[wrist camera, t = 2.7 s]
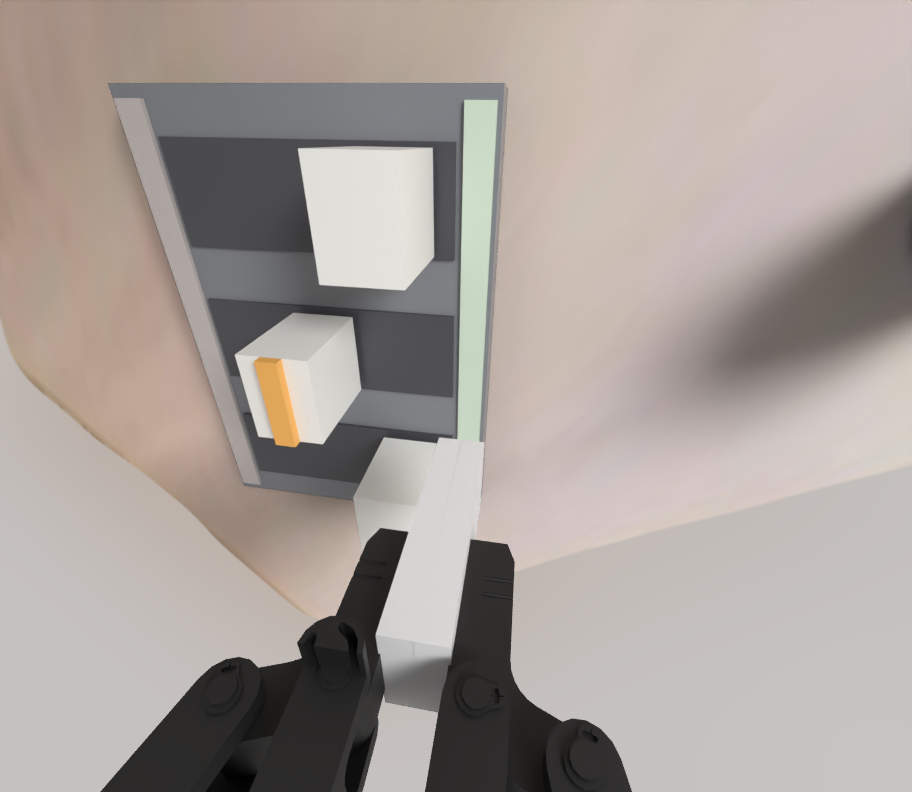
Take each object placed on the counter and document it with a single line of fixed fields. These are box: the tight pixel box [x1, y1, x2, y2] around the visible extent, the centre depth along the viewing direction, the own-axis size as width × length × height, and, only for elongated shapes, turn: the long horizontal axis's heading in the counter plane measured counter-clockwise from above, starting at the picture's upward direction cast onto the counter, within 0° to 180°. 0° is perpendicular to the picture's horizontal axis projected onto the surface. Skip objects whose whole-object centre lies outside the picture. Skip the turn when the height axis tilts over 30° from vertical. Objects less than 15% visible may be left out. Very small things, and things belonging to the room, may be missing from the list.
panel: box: [108, 83, 508, 500], centre depth 22 cm, size 22×16×2 cm
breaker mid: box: [235, 313, 361, 447], centre depth 19 cm, size 4×3×5 cm
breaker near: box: [298, 146, 434, 291], centre depth 15 cm, size 4×3×5 cm
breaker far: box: [353, 437, 437, 552], centre depth 22 cm, size 4×3×5 cm
